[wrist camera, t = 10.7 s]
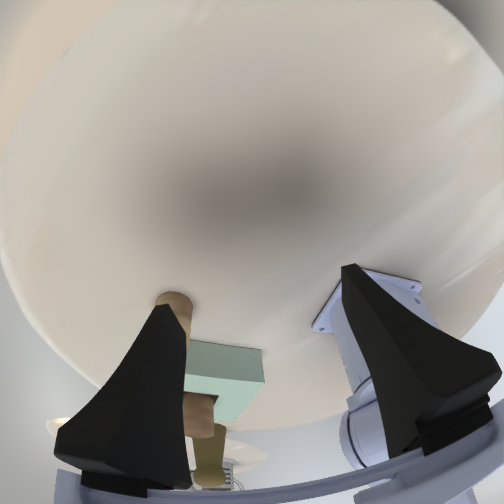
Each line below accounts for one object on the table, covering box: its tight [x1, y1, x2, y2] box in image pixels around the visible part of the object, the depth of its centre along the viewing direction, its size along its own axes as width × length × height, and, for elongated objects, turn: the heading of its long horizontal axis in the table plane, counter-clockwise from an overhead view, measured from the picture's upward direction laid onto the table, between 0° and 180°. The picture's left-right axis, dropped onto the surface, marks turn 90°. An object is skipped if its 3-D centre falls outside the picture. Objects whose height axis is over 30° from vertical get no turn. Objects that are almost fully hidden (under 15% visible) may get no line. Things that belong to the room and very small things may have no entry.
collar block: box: [183, 340, 265, 422], centre depth 29 cm, size 11×11×4 cm
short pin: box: [156, 292, 192, 348], centre depth 23 cm, size 3×3×4 cm
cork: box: [192, 423, 226, 487], centre depth 38 cm, size 6×6×11 cm
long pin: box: [183, 391, 214, 438], centre depth 28 cm, size 3×3×8 cm
